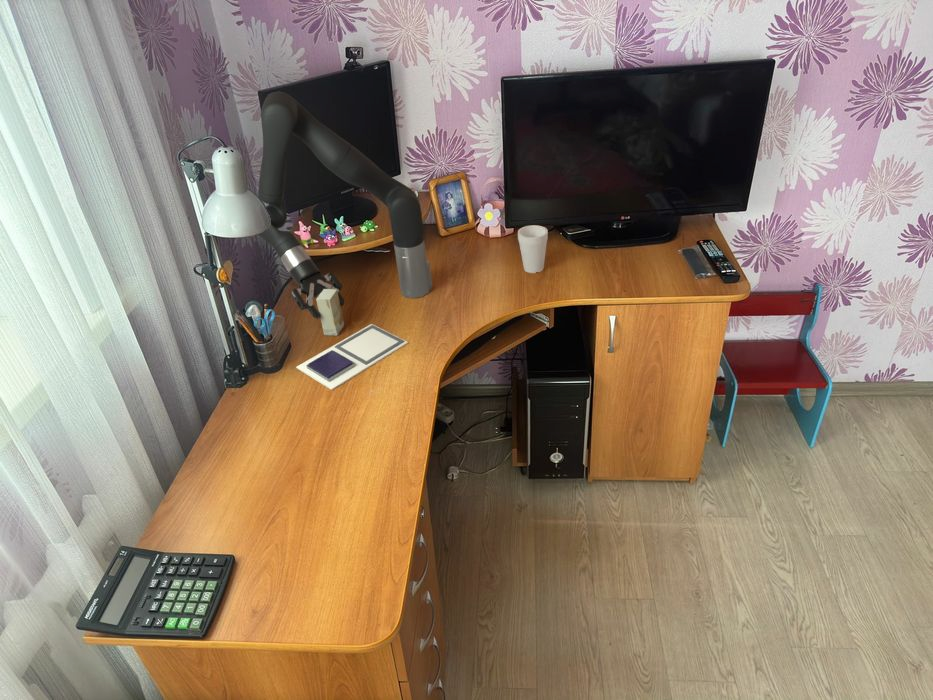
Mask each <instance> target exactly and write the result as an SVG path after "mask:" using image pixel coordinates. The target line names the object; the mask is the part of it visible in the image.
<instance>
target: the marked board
mask: <svg viewBox="0 0 933 700" xmlns="http://www.w3.org/2000/svg"><path fill="white" fill-rule="evenodd" d="M408 344H409V341H407V340H405V339H403V338H400V337H399V336H397V335H395V334H392V333H390V332H389V331H387V330H385V329H383V328H381V327H378V326H377V325H375V324H373V323H371V324H369V325H367V326H366V327H363V328H362V329H360V330H358V331H357V332H355V333H353V334H351V335H349V336H348V337H346V338H344V339H343V340H340V341H339V342H337V343H335V344H334V345H332V346H330V347H329V348H327V349H324V350H323V351H321V352H320V353H318V354H316V355H315V356H313V357H311V358H309V359H307V360H306V361H304V362H303V363H301V364H298V365H297V366H296V369H297V370H299V371H300V372H302V373H303V374H305V375H307V376H308V377H310V378H312V379H313V380H315V381H316V382H318V383H320V384H321V385H322V386H324V387H326V388H327V389H329V390H331V391H333V390H334V389H336V388H338V387H339V386H341V385H343V384H344V383H347V382H348V381H349V380H351V379H352V378H355V377H356V376H357V375H359V374H360V373H362V372H364V371H365V370H367V369H369V368H371V367H372V366H374V365H376V364H377V363H378V362H380V361H382V360H384V359H385V358H387V357H389V356H390V355H392V354H393V353H394V352H396V351H398V350H400V349H402V348H403V347H405V346H406V345H408ZM331 350H333V351H335V352H337V353H339V354H340V355H342V356H344V357H346V358H347V359H349V360H351V361H353V362H354V363H355V365H356V366H355V367H353V368H351V369H350V370H348V371H347V372H345V373H343V374H342V375H340V376H338V377H337V378H335V379H333V380H332V381H330V382H328V381H327V380H325V379H323V378H322V377H320V376H319V375H317V374H315V373H314V372H312V371H311V370H309V369H307V366H306V365H308V364H309V363H310V362H312V361H314V360H316V359H317V358H319V357H321V356H323V355H324V354H326V353H328V352H330V351H331ZM370 366H371V367H370Z"/></svg>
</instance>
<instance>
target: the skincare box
mask: <svg viewBox="0 0 933 700" xmlns="http://www.w3.org/2000/svg"><path fill="white" fill-rule="evenodd" d="M316 305H317V310H318V312H319V313H320V315H321V317H320V318H319V319H320V322H321V326H322V331H323V335H324V336H339V334H340V332H341V331H342V330H343V328H344V326H345V321H344V317H343V312H342V308H341V307H340V302H339V297H338V292H337V289H323V291H322V292H321V293H320V294H319V295H317V296H316Z"/></svg>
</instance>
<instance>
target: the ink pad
mask: <svg viewBox="0 0 933 700" xmlns="http://www.w3.org/2000/svg"><path fill="white" fill-rule="evenodd" d="M306 366H307V369H309V370H311V371H312V372H314V373H315V374H317V375H319V376H320V377H322V378H323V379H325V380H327V381H328V382H330V381H332V380H333V379H335V378H337V377H338V376H340V375H342V374H343V373H345V372H347V371H348V370H350V369H351V368H353V367H355V366H356V365H355V363H354V362H353V361H351V360H349V359H347V358H346V357H344V356H342V355H340V354H339V353H337V352H335V351H333V350H331V351H330V352H328V353H326V354H324V355H323V356H321V357H319V358H317V359H316V360H314V361H312V362H310V363H309V364H308V365H306Z"/></svg>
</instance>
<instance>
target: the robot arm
mask: <svg viewBox="0 0 933 700" xmlns="http://www.w3.org/2000/svg"><path fill="white" fill-rule="evenodd" d="M260 110H261V111H260V120H261V131H262V157H261V164H260V171H259V179H258V191H257V195H258V198H259V200H260V201H261V202H263V203H265V204H268V205H267V206H265V207H266V209H267V211H268V213H269V215H270V218H271V225H270V227H269V228H268V229H267V230H265V231H264V232H263V233H260V234H257V235H258V236H259V238H261V239H262V240H264V242H266V243H267V244H268V245H269V246H270V247H272V248H273V249H274V251H275V253H276V254H277V256H278V258H279V259H280V260H281V262H282V263H283V266H284V268H285V269H286V271H287V272H288V274H289V275H290V276H291V278H292V280H293V281H294V283H295V284H296V285H297V286H298V288H294V289H293V290H292V291H291V293H290V294H291V295H290V296H292V298H293V300H294V301H295V303H296V304H297V306H298V308H299V310H300V311H304V310H308V311H309V313H310V314H311V316H312V317H313V318H314V319H317V320H319V319H321V318H320V317H321V315H320V313H319V310H318V308H316V306H315V305H314V304H313V302H314V301H313V300H314V298H317V297H318V296H319V294H320V293H321V292H322V291H323V289H337V292H338V297H339V302H340V307H343V306H344V305H345V302H346V301H345V299H344V297H343V296H342V294H341V293H340V291H341V290H342V289H343V284H342V283H341V282H340V281H339V280H338V278H337V277H336V276H335V274H334V273H333V272H332V271H329V272H327V274H325V275H323V274H322V273H321V271H320V269H319V268H318V267H317V265H316V263H314V261H313V259H312V258H311V256H310V255H309V253H308V252H307V251H306V250H305V249H304V247H303V246H302V245H301V243H300V241H298V239H297V238H296V236H295V235H294V233H292V232H291V231H289V230H280V229H281V228H283V227H284V225H286V223H287V219H288V217H287V216H288V214H287V209H286V202H285V197H284V196H285V188H286V179H287V176H286V175H287V154H288V149H289V143H290V141H291V137H292V135H293V136H295V137H297V138H298V139H300V140H301V141H302V142H303V143H304V144H305V145H306V146H307V147H308V148H309V150H310V151H311V152H312V153H313V154H314V156H315V157H316V158H317V159H318V160H319V162H321V164H322V165H323V166H324V167H325V168H327V170H329V171H330V172H331V173H333V174H334V175H335V176H337V177H338V178H339V179H342V180H343V181H344V182H346V183H347V184H349V185H351V186H354V187H357V188H360V189H362V190H365V191H366V192H369V193H371V194H372V195H373V196H375V198H377V199H378V200H379V201H380V202H382V203H383V205H385V206H386V208H387V209H388V214H389V220H390V226H391V233H392V242H393V248H394V255H395V261H396V262H395V263H396V267H397V274H398V279H399V280H398V281H399V286H400V292H401V295H402V296H403V297H406V298H409V299H416V298H421V297H425V296H426V295H428V294H429V293H430V292H431V289H433V280H432V274H431V273H432V272H431V265H430V260H428V259H427V253H426V246H425V238H424V234H425V233H424V223H423V214H422V208H421V204H420V201H419V198H418V195H417V194H416V192H415V191H414V190H413V189H412V188H410V187H409V186H407V185H405V184H403V183H402V182H400V181H398V180H397V179H396V178H394V177H392V176H390V175H389V174H387V173H386V172H385V171H383V170H382V169H381V168H380V167H379V166H378V165H377V164H376V163H375V162H373V161H372V160H371V159H370V158H369V157H367V156H366V155H365V154H364V153H363V152H361V151H360V150H358V148H356V147H355V146H353V145H352V144H351V143H349V142H348V141H347V140H345V139H344V138H342V136H340V135H338V134H337V133H335V132H334V131H333V130H332V129H331V128H329V127H328V126H326V125H324V124H323V123H322V122H320V121H319V120H318V119H317V118H316V117H314V116H313V115H312V114H311V113H310V112H309V111H308V110H307V109H306V108H305V107H304V106H303V105H301V104H300V102H298V100H296V99H295V98H293V97H292V96H291V95H290V94H288V93H286V92H283V91H274V92H273V91H272V92H270V93H268V95H267V96H266V97H265V99H264V102H263V104H262V108H261V109H260ZM326 281H327V282H326ZM328 282H329V283H328ZM302 294H304V295H306V296H305V297H306V298H305V301H304V299H303V297H302Z"/></svg>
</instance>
